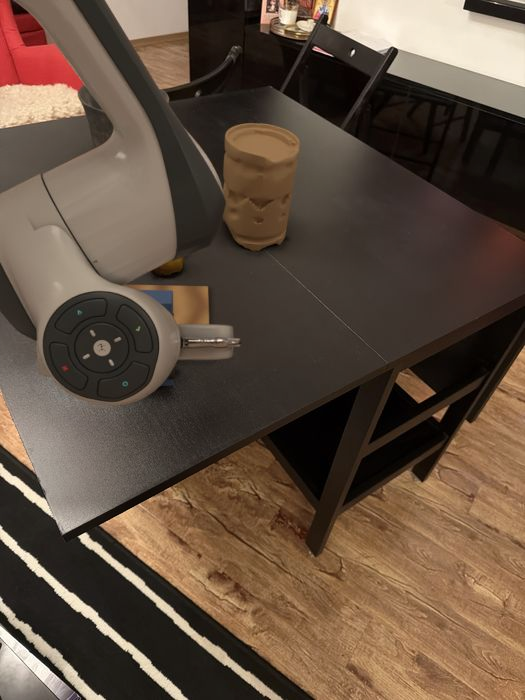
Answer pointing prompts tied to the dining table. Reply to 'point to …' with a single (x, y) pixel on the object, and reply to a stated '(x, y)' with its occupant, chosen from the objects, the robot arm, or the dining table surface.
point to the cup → (98, 117)
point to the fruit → (169, 267)
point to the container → (259, 183)
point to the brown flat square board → (185, 302)
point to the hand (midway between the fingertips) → (147, 340)
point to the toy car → (167, 301)
